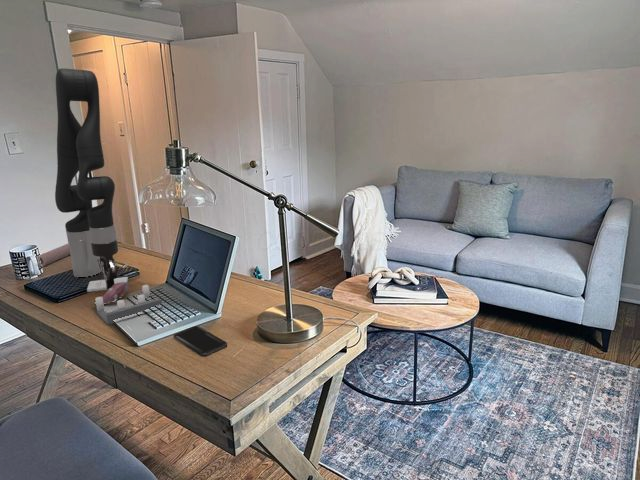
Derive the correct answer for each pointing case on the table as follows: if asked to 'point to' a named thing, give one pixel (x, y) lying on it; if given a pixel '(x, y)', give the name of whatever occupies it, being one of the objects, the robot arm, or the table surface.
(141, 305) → the dock
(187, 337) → the phone
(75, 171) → the robot arm
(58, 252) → the pink brown cylinder
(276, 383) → the table surface
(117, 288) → the purple rounded block
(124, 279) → the external hard drive
